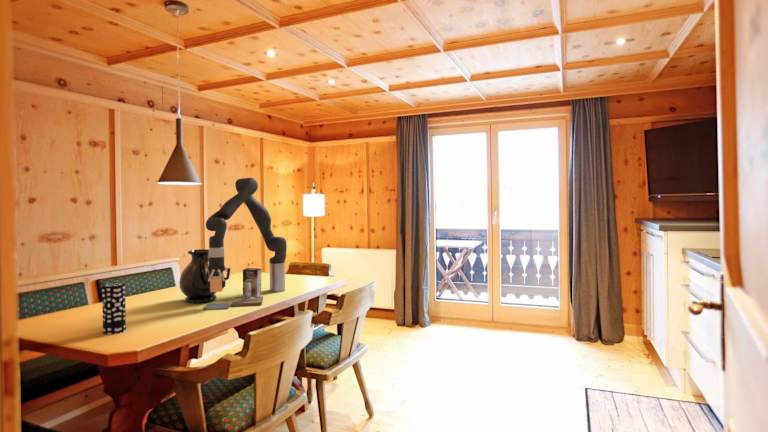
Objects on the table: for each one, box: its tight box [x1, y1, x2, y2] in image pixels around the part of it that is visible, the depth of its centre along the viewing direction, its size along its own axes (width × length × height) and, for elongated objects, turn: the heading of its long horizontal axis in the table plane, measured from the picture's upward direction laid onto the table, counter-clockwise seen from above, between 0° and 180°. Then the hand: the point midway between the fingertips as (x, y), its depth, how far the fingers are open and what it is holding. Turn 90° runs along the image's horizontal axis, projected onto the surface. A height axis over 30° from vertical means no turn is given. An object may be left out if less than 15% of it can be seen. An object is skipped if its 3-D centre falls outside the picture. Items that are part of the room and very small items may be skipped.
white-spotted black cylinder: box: [101, 282, 127, 335], centre depth 186 cm, size 8×8×20 cm
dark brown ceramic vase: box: [178, 248, 220, 304], centre depth 243 cm, size 22×22×28 cm
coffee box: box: [242, 267, 262, 297], centre depth 254 cm, size 9×6×16 cm
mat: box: [202, 302, 232, 311], centre depth 229 cm, size 12×12×1 cm
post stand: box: [231, 283, 264, 308], centre depth 238 cm, size 15×15×10 cm
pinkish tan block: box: [210, 277, 224, 293], centre depth 229 cm, size 6×6×7 cm
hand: (216, 288), depth 229 cm, fingers closed on pinkish tan block, 5 cm apart
